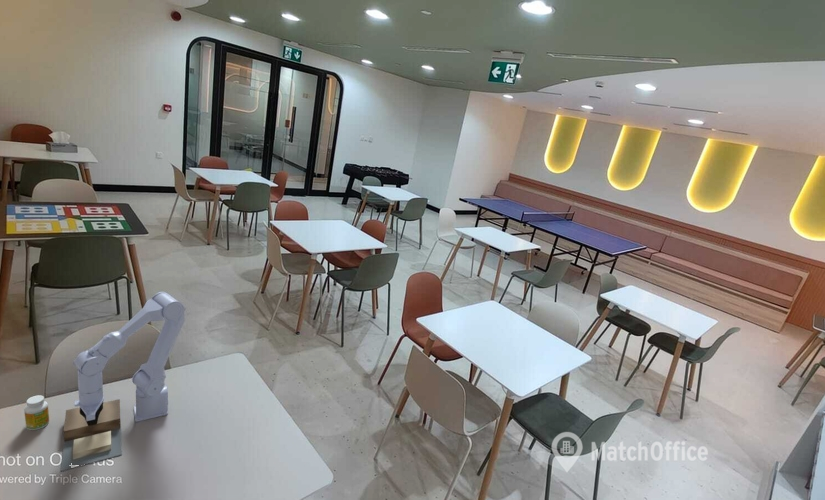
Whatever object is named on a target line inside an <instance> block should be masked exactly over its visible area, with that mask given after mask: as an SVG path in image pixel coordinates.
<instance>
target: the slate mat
mask: <svg viewBox="0 0 825 500" xmlns="http://www.w3.org/2000/svg"><path fill="white" fill-rule="evenodd" d="M121 429H122V428H119V429H115V430H111V450H107V451H103V452H99V453H96V454H92V455H88V456H84V457H81V458H77V459H73V445H74V440H75V439H73V440H69V441H65V442H64V441H63V450H62V459H61V466H60V467H61V468H60V472H61V473H62V472H64V471H65V472H66V471H69V470H71V469H70V468H71V466H69V465H71V463H72V465H79V466H80V467H82V466H81V465H84V464H87V465H89V464H88V463H91V464H94V463H93V462H95V463H98V462H102V461H104V460H108V459H109V460H110V459H113V458H116V457H120V456H122V433H121V431H122V430H121ZM107 432H108V431H107ZM102 433H104V432H102ZM98 434H100V433H98ZM94 435H96V434H94ZM90 436H92V435H90ZM86 437H88V436H86ZM82 438H84V437H82ZM77 439H79V438H77ZM84 466H85V465H84Z"/></svg>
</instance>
